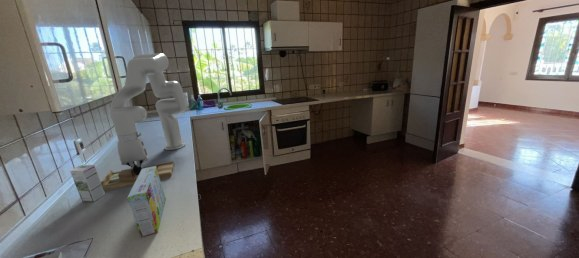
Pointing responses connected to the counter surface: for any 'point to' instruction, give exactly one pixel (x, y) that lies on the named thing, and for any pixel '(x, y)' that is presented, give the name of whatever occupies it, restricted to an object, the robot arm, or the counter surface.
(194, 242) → the counter surface
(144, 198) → the snack box
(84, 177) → the syrup box
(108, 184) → the tray
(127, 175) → the block
